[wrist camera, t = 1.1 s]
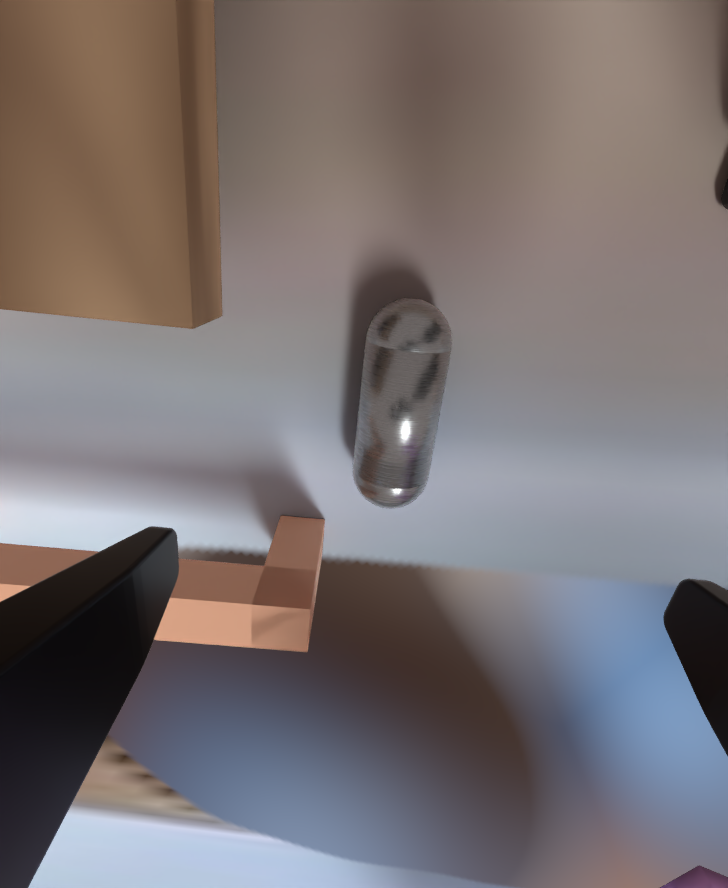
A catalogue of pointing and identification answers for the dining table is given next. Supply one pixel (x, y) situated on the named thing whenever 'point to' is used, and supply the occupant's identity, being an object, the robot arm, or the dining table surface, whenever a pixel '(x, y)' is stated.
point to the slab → (110, 160)
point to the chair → (699, 879)
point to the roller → (400, 401)
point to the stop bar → (214, 590)
